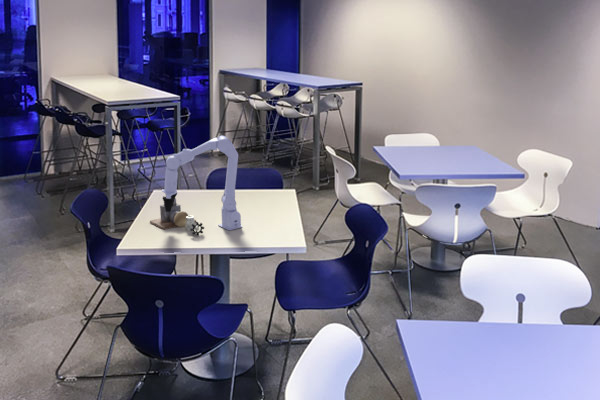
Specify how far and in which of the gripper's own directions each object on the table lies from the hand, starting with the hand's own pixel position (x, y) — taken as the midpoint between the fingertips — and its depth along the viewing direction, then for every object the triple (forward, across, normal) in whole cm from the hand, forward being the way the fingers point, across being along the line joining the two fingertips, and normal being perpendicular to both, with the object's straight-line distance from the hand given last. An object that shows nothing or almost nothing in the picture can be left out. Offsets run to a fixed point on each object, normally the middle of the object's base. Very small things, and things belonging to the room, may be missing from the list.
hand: (169, 209), depth 297 cm
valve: (+9, +3, +12) cm, 16 cm away
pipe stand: (+10, -12, +1) cm, 16 cm away
